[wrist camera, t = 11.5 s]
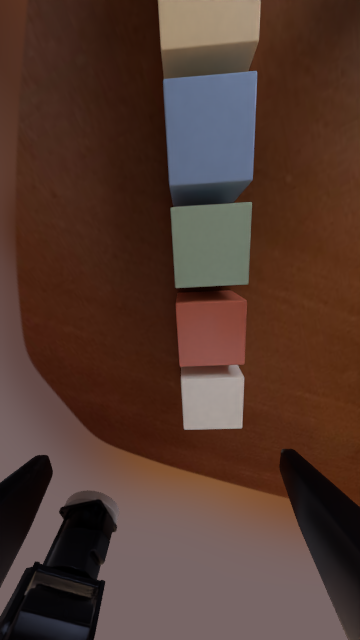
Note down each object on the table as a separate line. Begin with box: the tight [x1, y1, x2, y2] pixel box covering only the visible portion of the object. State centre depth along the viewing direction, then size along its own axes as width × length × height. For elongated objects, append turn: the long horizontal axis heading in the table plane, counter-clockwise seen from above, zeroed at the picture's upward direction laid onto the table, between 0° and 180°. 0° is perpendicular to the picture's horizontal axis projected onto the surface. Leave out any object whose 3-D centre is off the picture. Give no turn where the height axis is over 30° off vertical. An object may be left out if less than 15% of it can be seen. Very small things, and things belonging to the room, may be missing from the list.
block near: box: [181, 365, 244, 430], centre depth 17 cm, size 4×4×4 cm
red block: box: [176, 290, 247, 367], centre depth 15 cm, size 4×4×4 cm
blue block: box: [163, 71, 257, 207], centre depth 12 cm, size 4×4×4 cm
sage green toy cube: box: [170, 202, 252, 288], centre depth 14 cm, size 4×4×4 cm
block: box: [158, 0, 261, 79], centre depth 11 cm, size 4×4×4 cm
